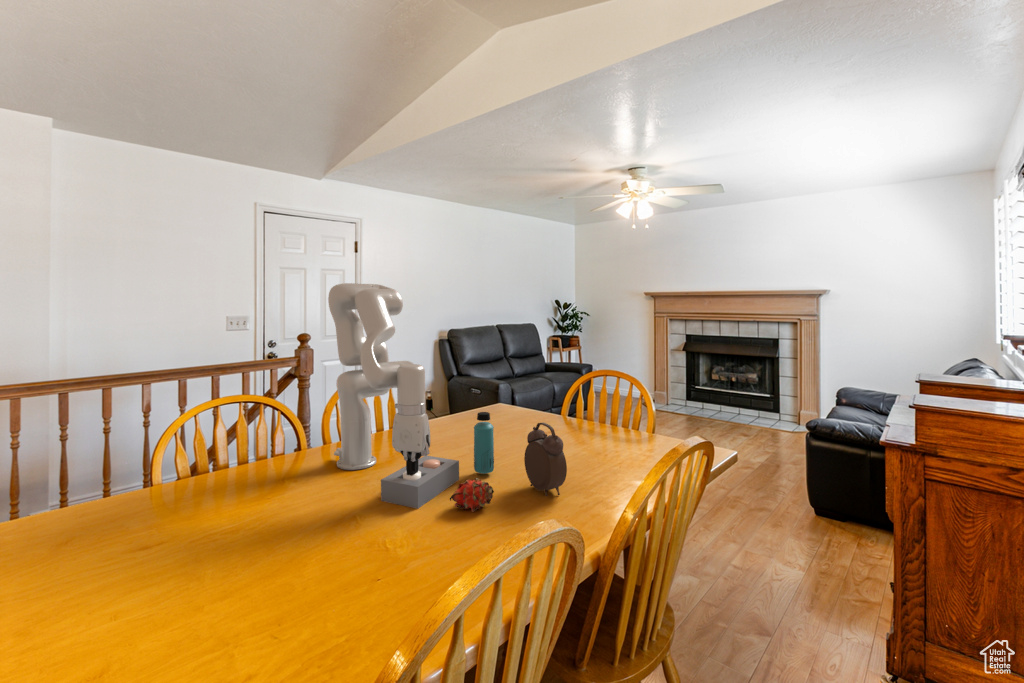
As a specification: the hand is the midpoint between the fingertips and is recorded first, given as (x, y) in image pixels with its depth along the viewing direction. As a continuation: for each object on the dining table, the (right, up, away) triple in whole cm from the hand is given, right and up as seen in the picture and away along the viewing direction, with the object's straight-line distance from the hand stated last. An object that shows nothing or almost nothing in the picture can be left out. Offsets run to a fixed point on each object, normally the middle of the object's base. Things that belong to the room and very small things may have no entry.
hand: (412, 473), depth 131 cm
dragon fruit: (+17, -8, -7) cm, 20 cm away
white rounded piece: (0, -4, 0) cm, 4 cm away
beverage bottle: (+19, -6, +18) cm, 26 cm away
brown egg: (+4, -3, +10) cm, 11 cm away
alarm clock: (+38, -7, +5) cm, 39 cm away
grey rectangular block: (+2, -6, +5) cm, 8 cm away
